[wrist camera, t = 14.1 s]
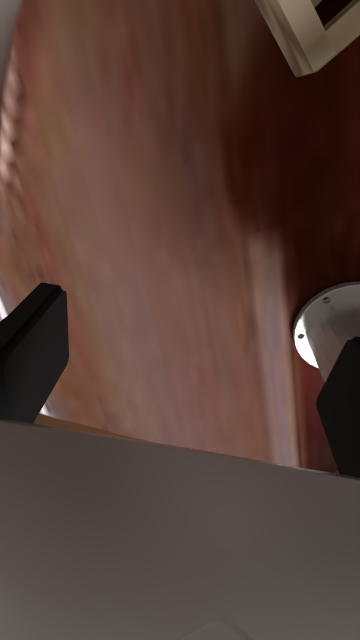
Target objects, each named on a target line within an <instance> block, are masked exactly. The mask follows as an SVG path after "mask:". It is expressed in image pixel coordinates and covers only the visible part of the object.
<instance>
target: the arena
mask: <svg viewBox="0 0 360 640" xmlns="http://www.w3.org/2000/svg"><path fill="white" fill-rule="evenodd" d="M254 1H255V2H256V4H257V6H258V8H259V10H260V12H261V14H262V15H263V17H264V19H265V21H266V23H267V25H268V27H269V28H270V30H271V32H272V34H273V36H274V38H275V40H276V41H277V43H278V45H279V47H280V49H281V51H282V53H283V55H284V56H285V58H286V60H287V62H288V64H289V66H290V68H291V69H292V71H293V73H294V75H295V77H301V76H305V75H308V74H312V73H315V72H317V71H318V70H320V69H321V68H322V67H323V66H324V65H325V64H327V63H328V62H329V61H330V60H331V59H332V58H334V57H335V56H336V55H337V54H338V53H339V52H341V51H342V50H343V49H344V48H345V47H346V46H348V45H349V44H350V43H351V42H352V41H353V40H355V39H356V38H357V37H358V36H359V35H360V0H353V1H351V2H350V3H349V4H348V5H347V6H346V7H345V8H344V9H343V10H342V11H340V12H339V13H338V14H337V15H336V16H335V17H334V18H333V19H332V20H331V21H329V22H328V23H327V24H326V25H325V26H324V27H323V25H322V23H321V21H320V19H319V17H318V14H317V12H316V10H315V7H316V6H317V5H318V4H319V3H320V2H321V1H322V0H254Z"/></svg>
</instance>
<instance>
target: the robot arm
mask: <svg viewBox="0 0 360 640" xmlns="http://www.w3.org/2000/svg"><path fill="white" fill-rule="evenodd" d="M325 297H326V298H325ZM293 340H294V343H295V346H296V349H297V351H298V353H299V354H300V355H301V357H302V358H303V359H304V360H305V361H307V362H308V363H309V364H311V365H313V366H315V367H317V368H319V371H320V373H321V376H322V378H323V380H324V383H325V384H324V386H323V388H322V390H321V392H320V393H319V395H318V398H317V402H316V406H317V410H318V413H319V416H320V419H321V422H322V424H323V427H324V430H325V433H326V436H327V439H328V442H329V445H330V448H331V451H332V454H333V456H334V459H335V462H336V465H337V468H338V471H339V474H335V473H330V472H324V471H318V470H312V469H307V468H301V467H295V466H289V465H284V464H278V463H272V462H267V461H261V460H255V459H249V458H243V457H237V456H231V455H225V454H219V453H214V452H208V451H202V450H196V449H190V448H184V447H178V446H172V445H166V444H160V443H154V442H148V441H142V440H135V439H129V438H123V437H117V436H111V435H105V434H99V433H92V432H86V431H80V430H73V429H68V428H61V427H55V426H48V425H41V424H35V423H33V422H34V421H35V419H36V417H37V415H38V414H39V412H40V410H41V409H42V407H43V405H44V403H45V402H46V400H47V398H48V397H49V395H50V393H51V391H52V390H53V388H54V386H55V384H56V383H57V381H58V379H59V377H60V376H61V374H62V372H63V371H64V369H65V367H66V365H67V363H68V359H69V343H68V316H67V294H66V291H63V290H62V289H61V287H60V285H54V284H48V283H40V284H39V285H38V286H37V287H36V288H35V289H34V290H33V291H32V292H31V293H30V294H29V295H28V296H27V297H26V298H25V299H24V300H23V301H22V302H21V303H20V304H19V305H18V306H17V307H16V308H15V309H14V310H13V311H12V312H11V313H10V314H9V315H8V316H7V317H6V318H4V319H3V320H2V321H1V322H0V640H360V282H348V283H342V284H338V285H335V286H333V287H330V288H327V289H326V290H324V291H322V292H320V293H318V294H317V295H316V296H314V297H313V298H312V299H310V300H309V301H308V302H307V303H306V304H305V305H304V306H303V308H302V309H301V311H300V312H299V314H298V315H297V317H296V320H295V322H294V327H293Z"/></svg>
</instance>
